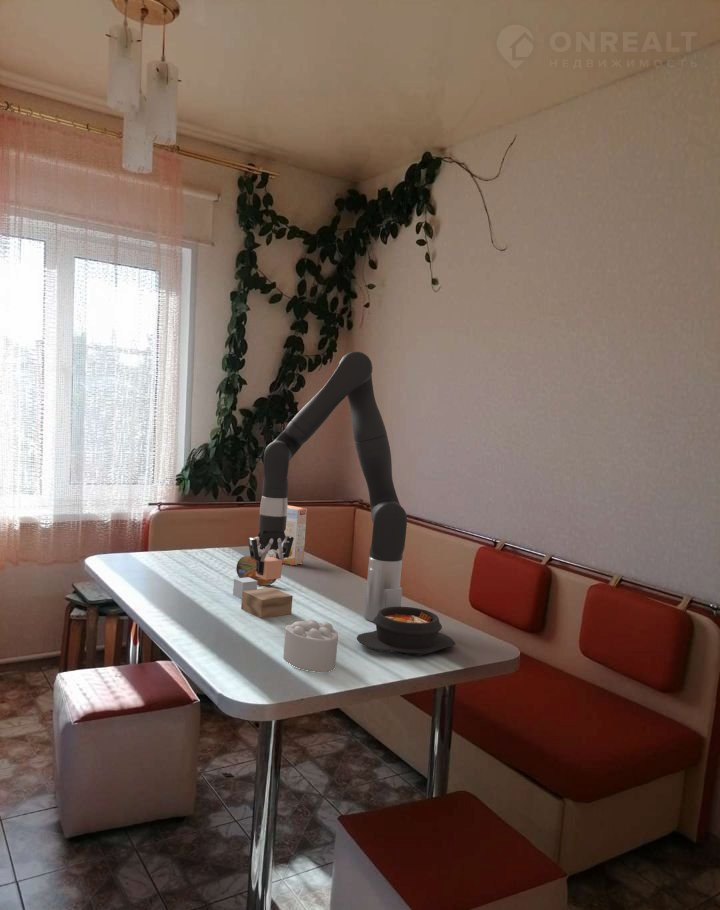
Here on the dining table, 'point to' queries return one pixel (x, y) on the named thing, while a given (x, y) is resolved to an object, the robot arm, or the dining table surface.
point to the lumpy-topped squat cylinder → (311, 646)
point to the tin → (250, 570)
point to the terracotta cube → (271, 568)
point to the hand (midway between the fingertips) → (268, 573)
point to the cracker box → (294, 535)
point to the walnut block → (266, 602)
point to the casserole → (406, 632)
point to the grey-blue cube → (243, 586)
